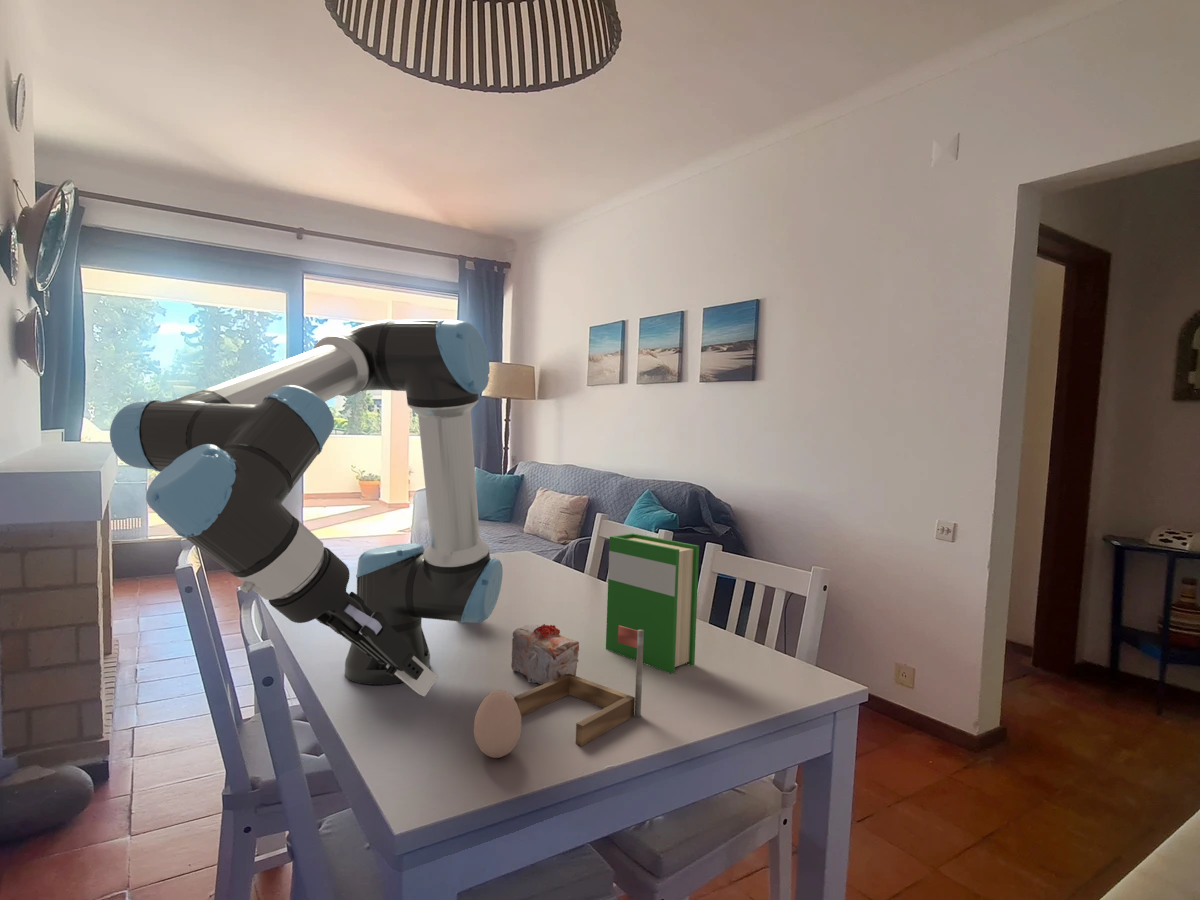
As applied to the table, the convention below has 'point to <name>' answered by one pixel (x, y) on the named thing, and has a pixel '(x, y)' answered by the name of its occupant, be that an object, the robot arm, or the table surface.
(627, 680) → the table surface
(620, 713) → the mini golf hole
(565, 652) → the food item
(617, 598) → the hardback book
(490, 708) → the egg
